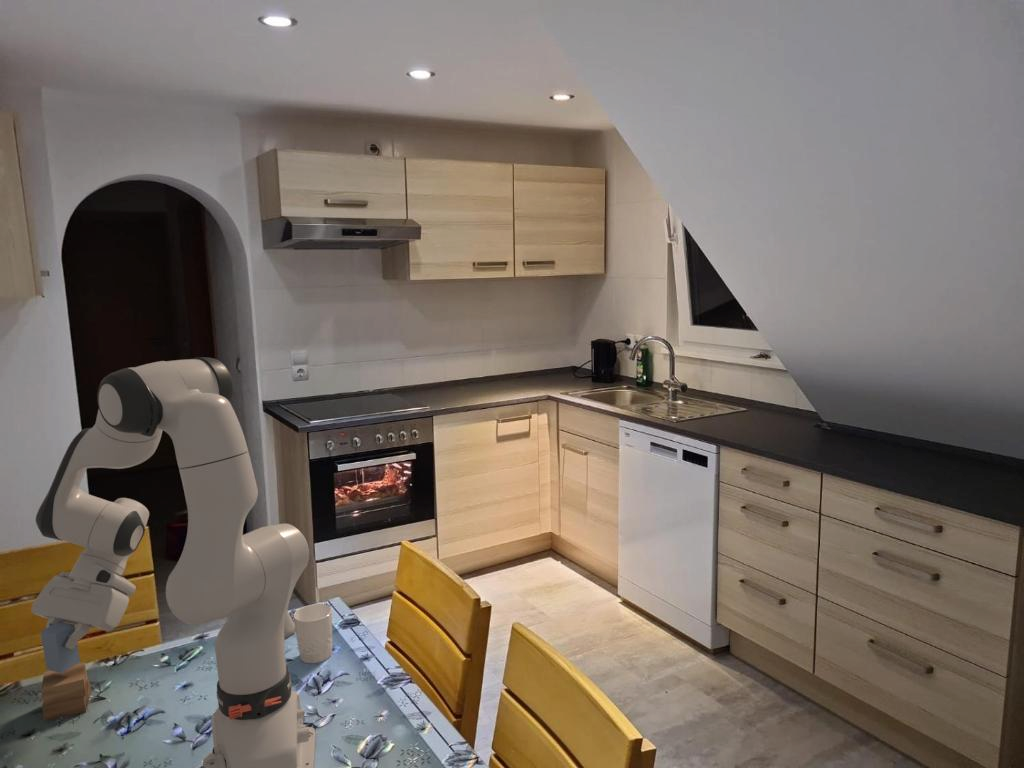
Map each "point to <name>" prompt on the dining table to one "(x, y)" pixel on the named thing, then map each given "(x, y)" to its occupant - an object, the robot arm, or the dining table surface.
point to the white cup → (314, 632)
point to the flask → (288, 626)
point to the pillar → (59, 647)
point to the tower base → (67, 707)
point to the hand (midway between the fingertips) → (57, 645)
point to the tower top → (64, 685)
